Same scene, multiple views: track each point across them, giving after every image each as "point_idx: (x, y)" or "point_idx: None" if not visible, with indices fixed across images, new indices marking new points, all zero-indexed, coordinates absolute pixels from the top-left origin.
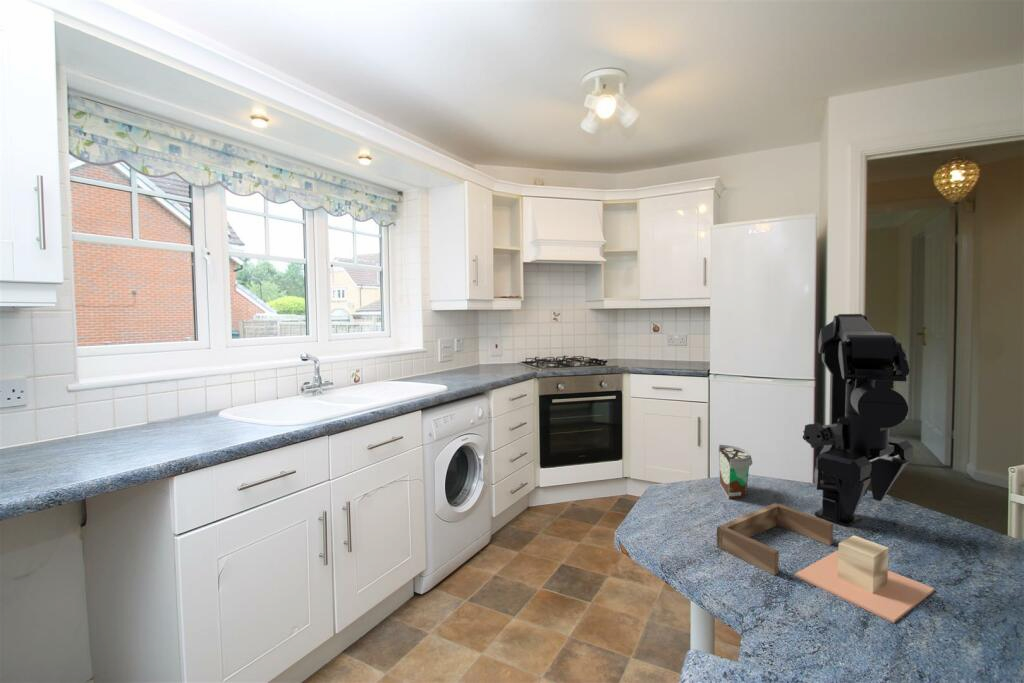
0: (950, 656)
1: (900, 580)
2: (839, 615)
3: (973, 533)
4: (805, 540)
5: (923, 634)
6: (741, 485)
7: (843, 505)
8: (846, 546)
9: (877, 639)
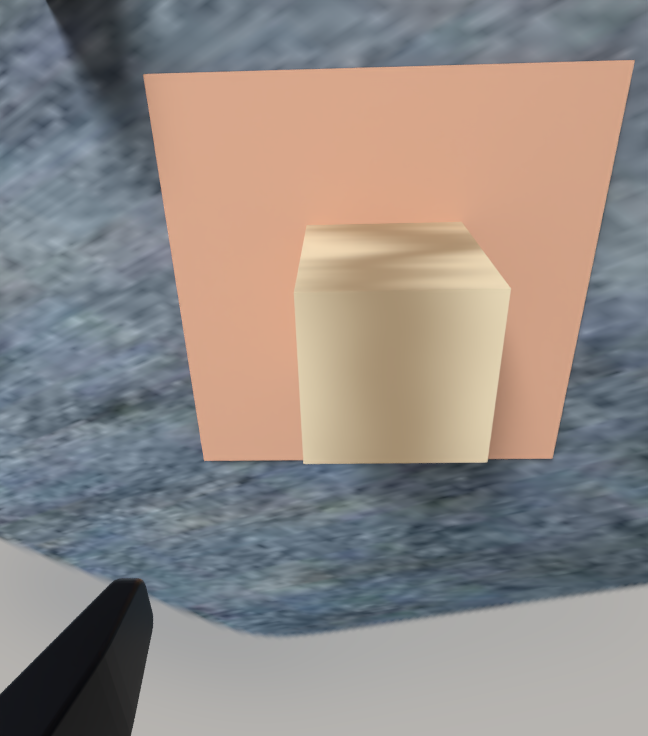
0: (194, 569)
1: (520, 377)
2: (68, 348)
3: None
4: None
5: (231, 512)
6: None
7: (54, 643)
8: (298, 336)
9: (73, 460)
